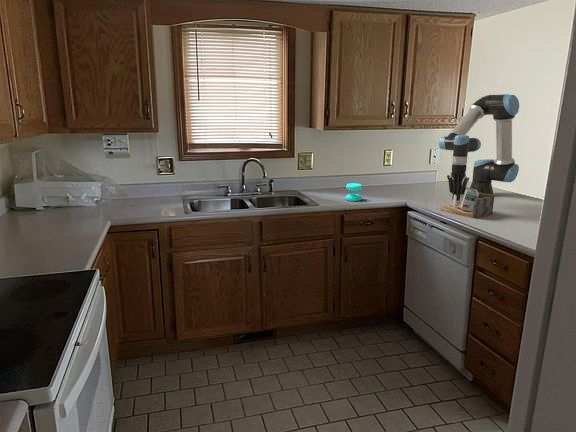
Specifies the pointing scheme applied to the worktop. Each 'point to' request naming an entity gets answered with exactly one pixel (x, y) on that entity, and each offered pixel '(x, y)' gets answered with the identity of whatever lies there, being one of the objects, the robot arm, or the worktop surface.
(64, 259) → the worktop surface
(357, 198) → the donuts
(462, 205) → the light bulb box
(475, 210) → the shelf
